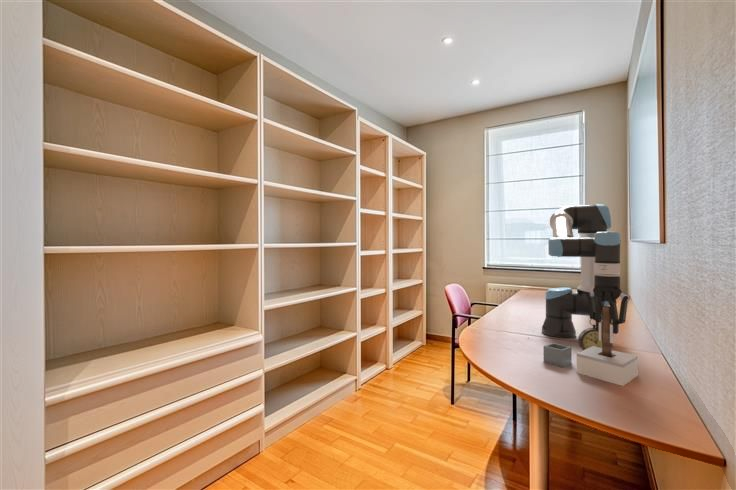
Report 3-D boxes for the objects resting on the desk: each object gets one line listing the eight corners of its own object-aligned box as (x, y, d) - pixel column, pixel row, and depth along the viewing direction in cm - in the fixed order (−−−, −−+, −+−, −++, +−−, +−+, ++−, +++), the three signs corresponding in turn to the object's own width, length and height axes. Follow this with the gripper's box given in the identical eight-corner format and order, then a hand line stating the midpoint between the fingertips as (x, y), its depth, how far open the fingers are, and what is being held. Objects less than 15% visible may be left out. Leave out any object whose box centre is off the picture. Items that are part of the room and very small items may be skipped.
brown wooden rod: (603, 355, 123) (603, 305, 123) (612, 357, 121) (613, 306, 121) (600, 356, 122) (600, 306, 121) (609, 359, 119) (609, 307, 119)
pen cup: (552, 358, 138) (552, 342, 138) (571, 363, 132) (571, 347, 132) (543, 361, 134) (543, 345, 134) (562, 367, 128) (562, 350, 128)
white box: (592, 364, 131) (593, 346, 131) (637, 375, 120) (637, 355, 120) (576, 372, 123) (576, 353, 123) (622, 385, 112) (623, 364, 112)
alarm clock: (581, 358, 137) (581, 318, 137) (577, 354, 143) (577, 315, 142) (612, 361, 134) (612, 320, 134) (607, 356, 139) (607, 317, 139)
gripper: (578, 274, 125) (578, 337, 125) (630, 277, 112) (630, 348, 113) (587, 272, 130) (586, 334, 130) (638, 276, 117) (637, 344, 117)
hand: (606, 341), depth 121 cm, fingers closed on brown wooden rod, 3 cm apart
